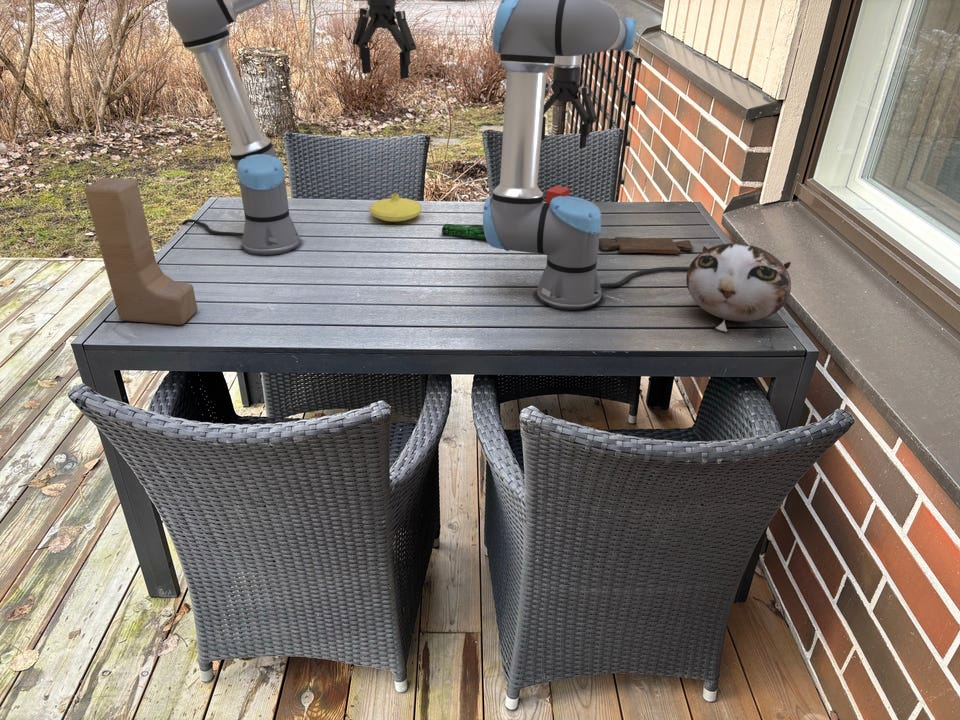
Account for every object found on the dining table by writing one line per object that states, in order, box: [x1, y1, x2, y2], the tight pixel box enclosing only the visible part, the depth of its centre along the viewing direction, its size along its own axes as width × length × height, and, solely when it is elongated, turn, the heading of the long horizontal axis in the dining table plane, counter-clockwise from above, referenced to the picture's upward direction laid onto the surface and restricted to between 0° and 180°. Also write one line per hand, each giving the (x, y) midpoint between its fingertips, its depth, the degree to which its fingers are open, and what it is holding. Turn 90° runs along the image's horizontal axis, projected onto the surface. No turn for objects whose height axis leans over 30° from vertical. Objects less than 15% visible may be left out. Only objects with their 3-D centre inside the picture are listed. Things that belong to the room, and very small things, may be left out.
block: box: [544, 185, 571, 203], centre depth 218 cm, size 5×6×9 cm
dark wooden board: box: [599, 236, 693, 255], centre depth 198 cm, size 26×2×10 cm
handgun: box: [441, 223, 487, 242], centre depth 207 cm, size 16×3×15 cm
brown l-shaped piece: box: [83, 177, 198, 326], centre depth 152 cm, size 8×15×30 cm, turn 82°
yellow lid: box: [369, 193, 422, 223], centre depth 215 cm, size 16×16×7 cm
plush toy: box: [685, 242, 792, 332], centre depth 158 cm, size 22×18×20 cm
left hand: (385, 75), depth 197 cm, fingers open, 13 cm apart
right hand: (561, 143), depth 208 cm, fingers open, 13 cm apart
